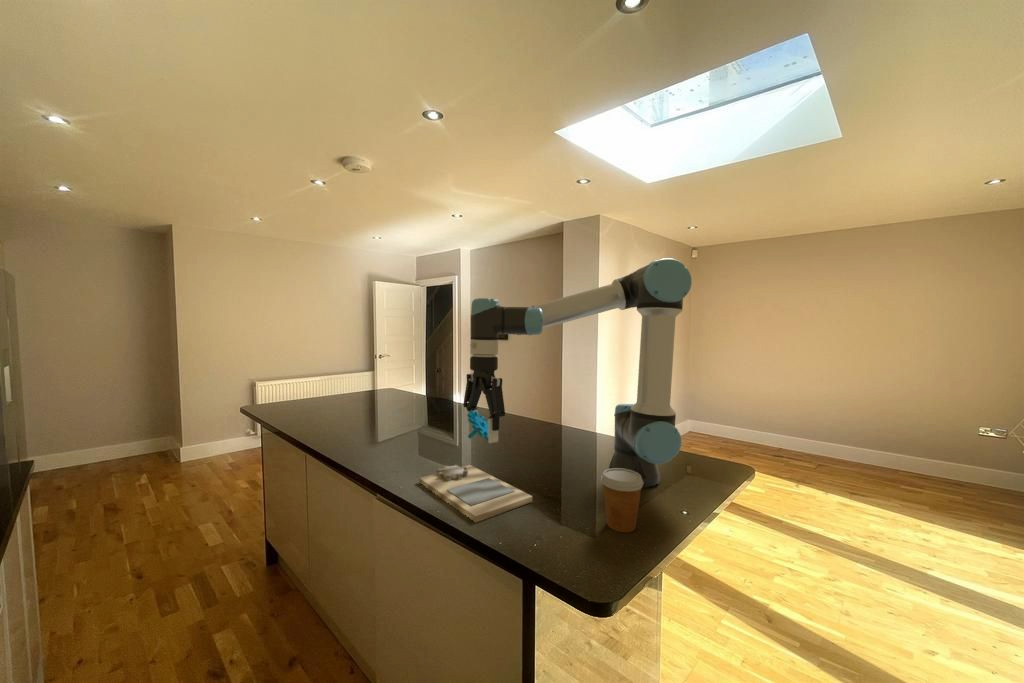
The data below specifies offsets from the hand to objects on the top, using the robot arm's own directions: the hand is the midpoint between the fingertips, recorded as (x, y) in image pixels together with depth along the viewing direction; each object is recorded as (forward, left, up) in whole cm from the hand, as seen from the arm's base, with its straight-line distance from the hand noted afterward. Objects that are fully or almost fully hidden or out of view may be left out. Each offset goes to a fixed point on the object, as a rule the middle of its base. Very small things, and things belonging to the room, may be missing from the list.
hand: (482, 437), depth 103 cm
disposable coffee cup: (-33, -16, -16) cm, 40 cm away
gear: (0, 0, 0) cm, 0 cm away
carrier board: (+4, +1, -16) cm, 16 cm away
